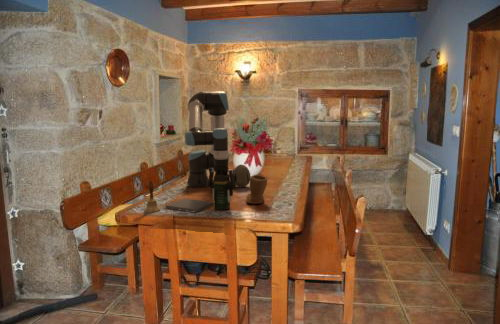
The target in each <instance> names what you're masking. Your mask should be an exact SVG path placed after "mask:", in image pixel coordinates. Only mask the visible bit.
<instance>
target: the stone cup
mask: <svg viewBox="0 0 500 324" xmlns="http://www.w3.org/2000/svg"><path fill="white" fill-rule="evenodd" d="M250 177H251V178H250V182H249V189H250V193H248V194H247V196H246V199H245V200H246V203H248V204H254V205H256V204H263V203H264V201H265V196H264V192H265V190H266V188H267V185H268V178H267V177H265V176H264V175H260V174H254V175H251V176H250Z"/></svg>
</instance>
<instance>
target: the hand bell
mask: <svg viewBox="0 0 500 324" xmlns="http://www.w3.org/2000/svg"><path fill="white" fill-rule="evenodd" d="M154 188H155V186H154V183H153V180H151V179H150V180H149V183H148V191H149V199H148V200H147V203H146V207H145V208H144V210H143V212H144V213H157V212H160V211H161V210H160V209H161V208H160V207H159V205H158V203H157V202H158V201H157V199H155V198H154Z"/></svg>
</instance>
